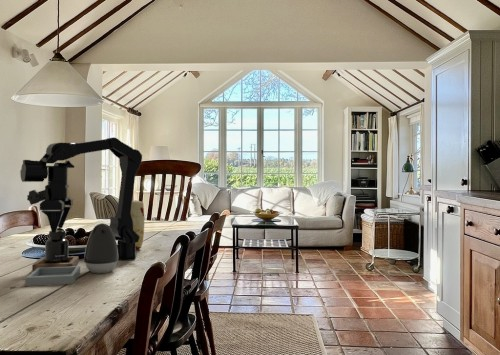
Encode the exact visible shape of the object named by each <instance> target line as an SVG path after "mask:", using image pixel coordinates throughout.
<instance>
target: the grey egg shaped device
mask: <svg viewBox="0 0 500 355" xmlns="http://www.w3.org/2000/svg"><path fill="white" fill-rule="evenodd" d="M83 261H84V264H85V266H86V269H87V270H88V271H89V272H91V273H93V274H100V275H101V274H107V273H110V272H111V271H113V270H114V269H115V268H116V267H117V264H118V262H119V261H120V260H119V255H118V248H117V240H116V239H115V236H114V233H113V231H112V229H111V228H110V224H107V223H104V222H101V223H99V224H96V225H95V226H94V227H93V228H92V230H91V232H90V234H89V236H88V240H87V243H86V247H85V250H84V258H83Z"/></svg>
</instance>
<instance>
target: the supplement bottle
mask: <svg viewBox="0 0 500 355" xmlns="http://www.w3.org/2000/svg"><path fill="white" fill-rule="evenodd" d="M69 245H70V244H69V240H68V239H67V238H66V230H63V229H62V230H61V229H57V230H56V232H52V231H51V230H49V232H48V239H47V240H46V241H45V245H44V246H45V247H44V257H45V264H47V263H68V256H69Z"/></svg>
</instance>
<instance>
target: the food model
mask: <svg viewBox="0 0 500 355" xmlns="http://www.w3.org/2000/svg"><path fill="white" fill-rule="evenodd" d="M144 207H145V206H144V202H143V201H142V200H141V201H140V200H134V199H132V206H131V217H132V220H133V230H134V231H135V232H136V233H137V234H138V235H139V236H140V238H139V241H138V242H136V251H137V250H138V251H139V250H140V249H141V248H142V246H143V242H144V237H145V236H144V235H145V208H144Z"/></svg>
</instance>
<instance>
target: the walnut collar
mask: <svg viewBox="0 0 500 355" xmlns="http://www.w3.org/2000/svg"><path fill="white" fill-rule="evenodd" d="M79 261H80V260H79V256H78V255H77V256H76V255H75V256H74V255H72V256H69V255H68V263H47V264H45V256H42V257H40V258H39V259H37V260H36V261H35V262H33V264H31V265H32V267H31V268H32V269H31V273H32V272H33V271H34V270H36V269H37V268H41V267H72V266H79V264H80V263H79Z"/></svg>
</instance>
